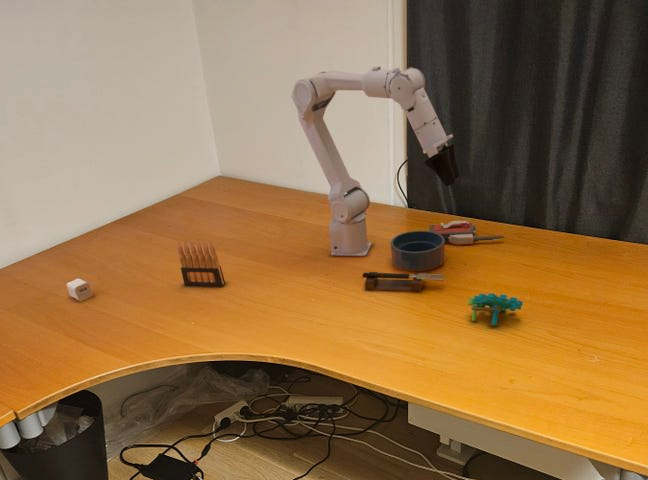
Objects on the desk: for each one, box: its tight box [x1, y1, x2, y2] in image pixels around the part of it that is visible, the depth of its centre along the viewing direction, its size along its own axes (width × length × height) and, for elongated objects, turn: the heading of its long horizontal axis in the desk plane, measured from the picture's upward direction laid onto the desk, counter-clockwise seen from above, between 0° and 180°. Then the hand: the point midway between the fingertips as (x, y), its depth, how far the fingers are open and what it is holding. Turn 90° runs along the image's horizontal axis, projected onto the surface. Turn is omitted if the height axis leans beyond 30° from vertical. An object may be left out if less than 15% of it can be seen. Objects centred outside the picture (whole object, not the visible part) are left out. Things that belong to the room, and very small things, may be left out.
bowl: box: [390, 230, 446, 272], centre depth 154 cm, size 13×13×6 cm
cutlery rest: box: [364, 271, 425, 293], centre depth 145 cm, size 13×5×2 cm, turn 75°
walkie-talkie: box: [429, 219, 505, 245], centre depth 162 cm, size 9×4×20 cm
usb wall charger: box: [66, 278, 94, 302], centre depth 158 cm, size 4×7×4 cm, turn 47°
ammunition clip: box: [176, 240, 226, 288], centre depth 153 cm, size 11×2×12 cm, turn 75°
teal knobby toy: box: [467, 292, 524, 327], centre depth 127 cm, size 11×6×10 cm
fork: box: [362, 272, 445, 282], centre depth 143 cm, size 19×2×1 cm, turn 75°
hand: (453, 181), depth 137 cm, fingers open, 7 cm apart
